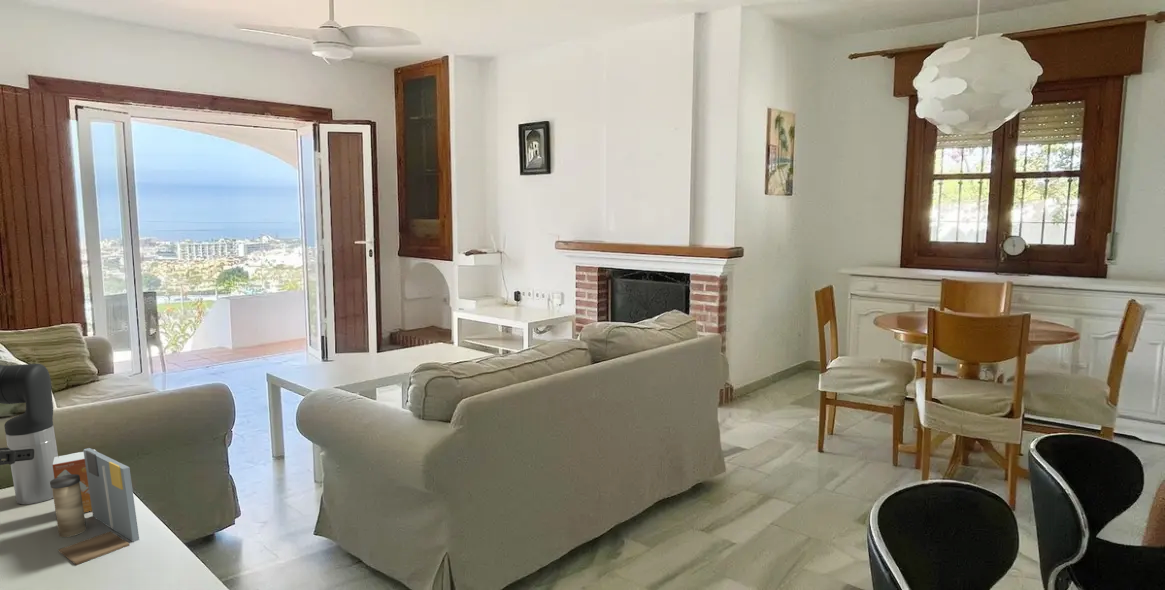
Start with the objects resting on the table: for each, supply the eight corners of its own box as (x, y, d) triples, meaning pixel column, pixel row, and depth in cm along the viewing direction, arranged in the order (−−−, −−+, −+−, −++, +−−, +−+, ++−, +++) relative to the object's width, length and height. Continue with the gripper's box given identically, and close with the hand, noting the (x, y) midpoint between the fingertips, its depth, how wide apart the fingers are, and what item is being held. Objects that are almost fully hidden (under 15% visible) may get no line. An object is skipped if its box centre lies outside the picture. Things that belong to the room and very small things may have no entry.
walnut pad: (58, 551, 145) (58, 549, 145) (110, 532, 152) (110, 531, 152) (76, 565, 139) (76, 563, 139) (129, 545, 146) (129, 543, 146)
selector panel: (91, 517, 161) (81, 448, 159) (98, 514, 162) (89, 446, 160) (131, 542, 148) (121, 468, 145) (139, 539, 149) (129, 465, 147)
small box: (59, 519, 160) (51, 464, 159) (61, 509, 166) (53, 456, 164) (102, 509, 165) (94, 456, 163) (102, 500, 170) (95, 448, 168)
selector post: (54, 533, 153) (46, 480, 152) (82, 524, 157) (74, 472, 156) (63, 539, 150) (54, 485, 148) (91, 530, 154) (83, 477, 153)
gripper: (-56, 443, 127) (43, 435, 142) (-98, 441, 133) (1, 434, 148) (-60, 485, 126) (40, 473, 141) (-101, 482, 132) (-1, 470, 147)
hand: (20, 453), depth 144 cm, fingers open, 8 cm apart
